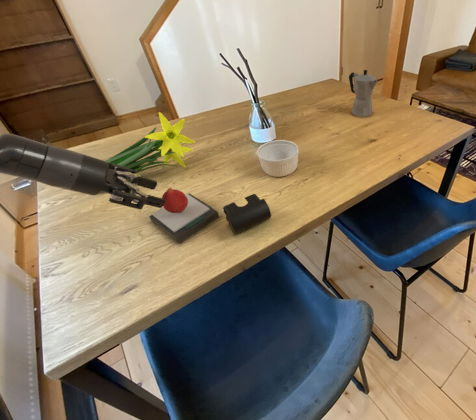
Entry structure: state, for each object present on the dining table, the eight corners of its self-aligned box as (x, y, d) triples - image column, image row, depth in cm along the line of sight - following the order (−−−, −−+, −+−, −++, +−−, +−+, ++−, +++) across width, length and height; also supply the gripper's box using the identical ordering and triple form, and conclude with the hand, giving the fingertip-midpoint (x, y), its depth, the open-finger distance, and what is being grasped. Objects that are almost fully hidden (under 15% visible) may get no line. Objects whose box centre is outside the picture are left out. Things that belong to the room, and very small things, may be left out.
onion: (172, 223, 69) (159, 198, 64) (165, 211, 73) (152, 187, 67) (195, 213, 72) (184, 189, 67) (187, 202, 75) (176, 178, 70)
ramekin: (270, 155, 98) (267, 137, 93) (305, 160, 95) (304, 142, 91) (253, 176, 88) (249, 157, 84) (292, 182, 86) (290, 163, 81)
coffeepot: (380, 114, 122) (385, 70, 110) (366, 120, 118) (370, 76, 106) (354, 104, 131) (357, 63, 119) (340, 110, 126) (342, 67, 114)
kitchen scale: (179, 243, 68) (175, 236, 66) (152, 221, 74) (147, 214, 72) (219, 216, 75) (216, 209, 73) (191, 198, 81) (188, 191, 79)
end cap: (237, 241, 68) (231, 221, 64) (226, 224, 72) (220, 205, 68) (273, 223, 73) (269, 204, 68) (261, 209, 77) (256, 190, 72)
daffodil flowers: (101, 172, 93) (196, 125, 97) (117, 208, 90) (214, 159, 94) (54, 151, 76) (171, 96, 80) (72, 195, 74) (192, 136, 78)
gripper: (82, 171, 49) (174, 196, 62) (78, 140, 57) (160, 168, 70) (65, 205, 50) (158, 223, 63) (64, 170, 59) (146, 192, 71)
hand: (159, 194), depth 66 cm, fingers open, 8 cm apart
